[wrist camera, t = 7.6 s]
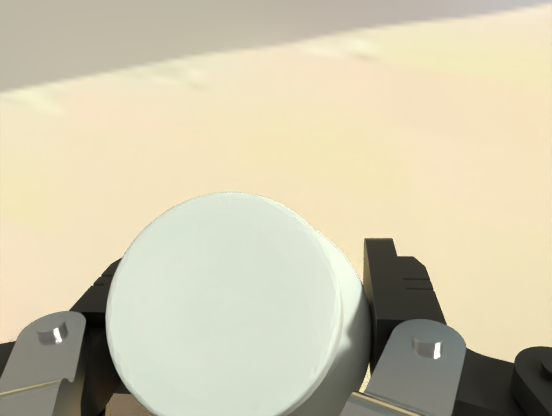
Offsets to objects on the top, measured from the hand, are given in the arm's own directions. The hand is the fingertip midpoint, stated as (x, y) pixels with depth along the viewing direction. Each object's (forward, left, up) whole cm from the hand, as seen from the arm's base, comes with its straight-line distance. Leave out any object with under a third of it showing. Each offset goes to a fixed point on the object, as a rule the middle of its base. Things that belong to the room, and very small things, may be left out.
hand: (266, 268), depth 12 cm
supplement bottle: (+1, +2, -5) cm, 5 cm away
